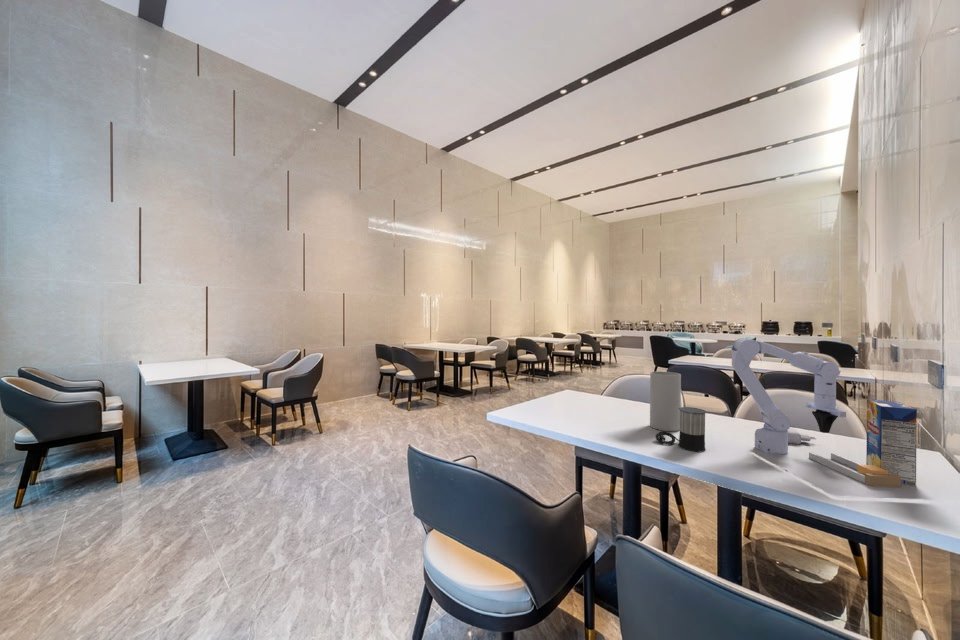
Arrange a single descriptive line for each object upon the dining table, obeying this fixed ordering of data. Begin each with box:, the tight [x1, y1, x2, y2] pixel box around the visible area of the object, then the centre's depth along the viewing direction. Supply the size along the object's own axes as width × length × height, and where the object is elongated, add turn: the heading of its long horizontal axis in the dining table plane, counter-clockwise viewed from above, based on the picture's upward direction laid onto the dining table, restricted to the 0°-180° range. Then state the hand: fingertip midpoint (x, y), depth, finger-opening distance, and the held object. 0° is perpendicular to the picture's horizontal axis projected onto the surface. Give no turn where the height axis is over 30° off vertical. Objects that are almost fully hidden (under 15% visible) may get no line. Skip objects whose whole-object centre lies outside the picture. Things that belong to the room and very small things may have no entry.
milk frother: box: [655, 406, 707, 452], centre depth 145 cm, size 14×16×15 cm
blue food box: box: [865, 398, 918, 487], centre depth 115 cm, size 12×8×24 cm, turn 148°
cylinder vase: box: [649, 371, 682, 432], centre depth 169 cm, size 12×12×25 cm
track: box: [808, 451, 901, 488], centre depth 119 cm, size 8×22×4 cm, turn 176°
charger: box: [788, 427, 817, 445], centre depth 152 cm, size 5×9×15 cm
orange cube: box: [858, 464, 888, 475], centre depth 112 cm, size 4×4×4 cm
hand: (824, 432), depth 133 cm, fingers closed
